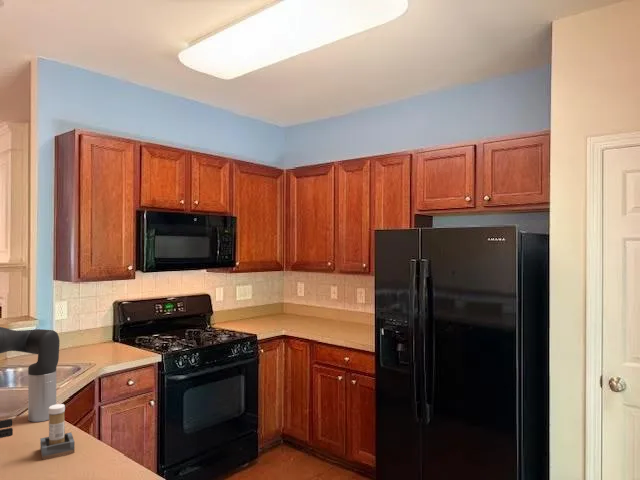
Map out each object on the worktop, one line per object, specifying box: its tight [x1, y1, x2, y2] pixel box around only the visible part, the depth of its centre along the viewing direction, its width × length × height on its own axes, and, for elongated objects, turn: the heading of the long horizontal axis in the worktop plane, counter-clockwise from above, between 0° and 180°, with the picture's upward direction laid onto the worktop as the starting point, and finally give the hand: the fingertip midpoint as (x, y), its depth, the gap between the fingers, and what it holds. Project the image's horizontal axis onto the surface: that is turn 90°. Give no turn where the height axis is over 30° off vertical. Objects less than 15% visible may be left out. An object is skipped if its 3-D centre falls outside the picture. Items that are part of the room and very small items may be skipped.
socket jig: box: [39, 432, 76, 460], centre depth 151 cm, size 9×9×4 cm
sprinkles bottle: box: [48, 403, 66, 445], centre depth 151 cm, size 5×5×14 cm
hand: (12, 426), depth 145 cm, fingers open, 8 cm apart
